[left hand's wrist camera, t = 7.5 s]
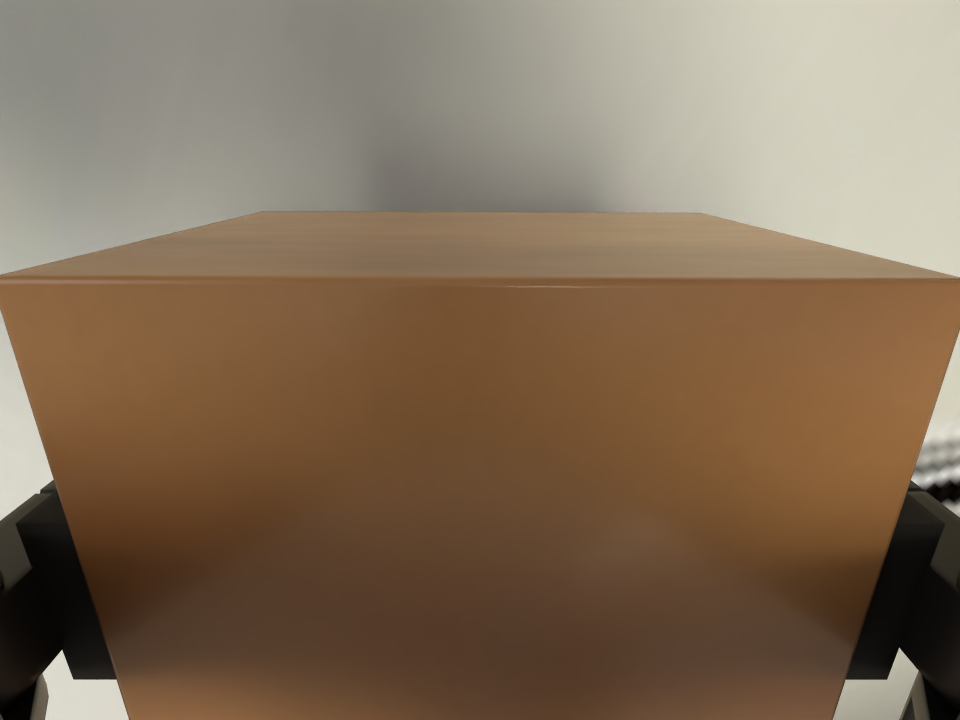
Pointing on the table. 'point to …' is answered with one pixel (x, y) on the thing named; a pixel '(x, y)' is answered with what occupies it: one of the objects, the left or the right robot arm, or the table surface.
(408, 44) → the table surface
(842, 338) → the wooden beam
